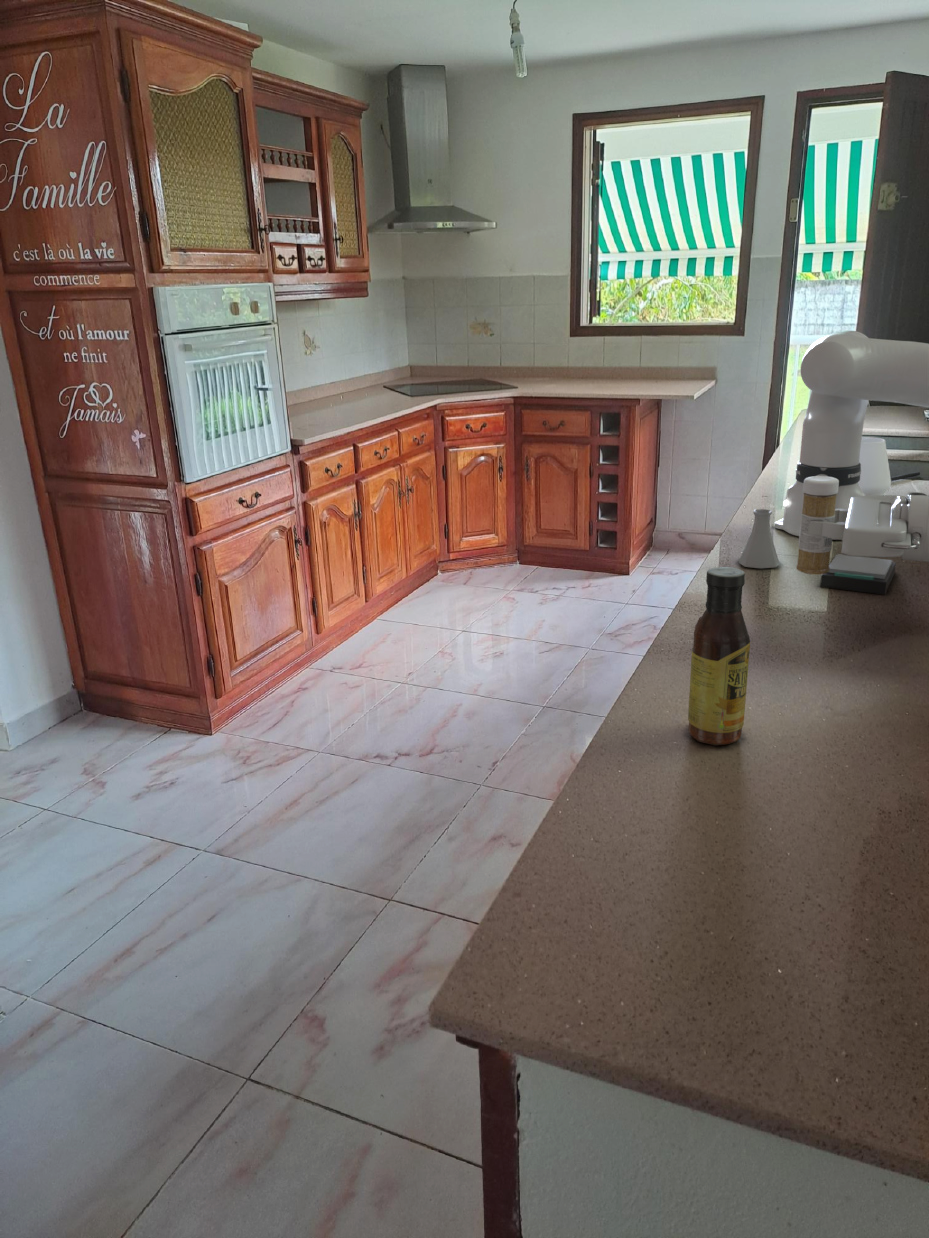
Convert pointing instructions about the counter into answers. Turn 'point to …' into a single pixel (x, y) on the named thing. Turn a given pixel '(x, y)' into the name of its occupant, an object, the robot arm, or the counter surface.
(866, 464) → the cup
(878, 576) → the scale
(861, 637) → the counter surface
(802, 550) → the sprinkles bottle
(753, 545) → the flask
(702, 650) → the sauce bottle
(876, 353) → the robot arm
